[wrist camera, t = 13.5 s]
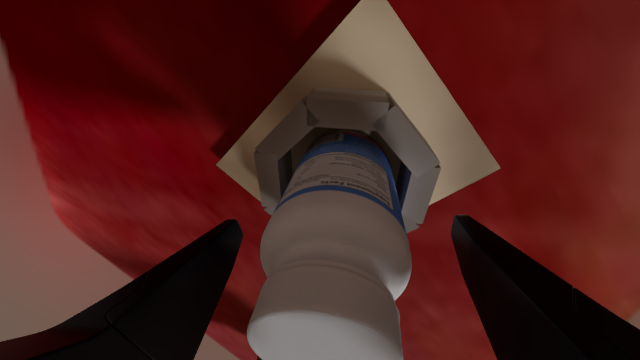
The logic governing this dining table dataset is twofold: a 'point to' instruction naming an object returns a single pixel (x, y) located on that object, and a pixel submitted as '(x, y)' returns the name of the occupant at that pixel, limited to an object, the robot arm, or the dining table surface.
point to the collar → (365, 116)
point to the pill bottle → (334, 258)
